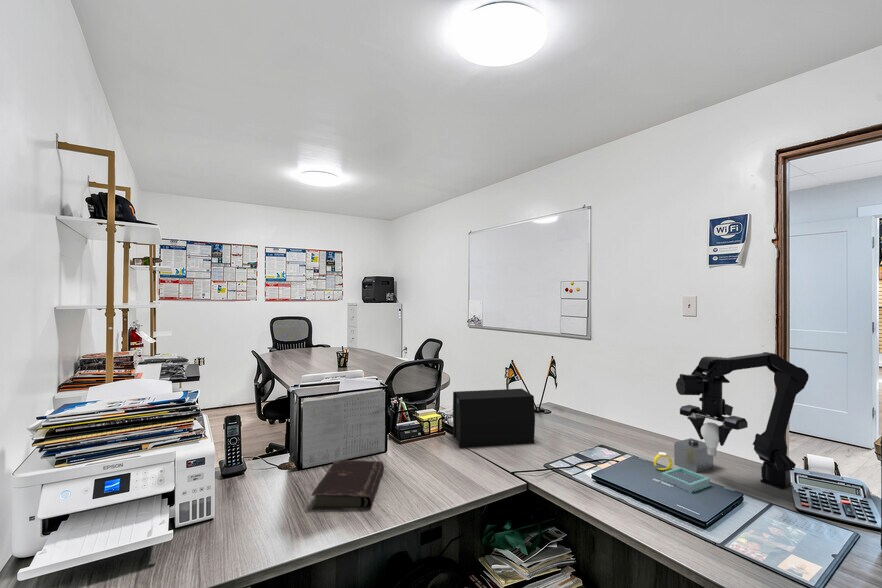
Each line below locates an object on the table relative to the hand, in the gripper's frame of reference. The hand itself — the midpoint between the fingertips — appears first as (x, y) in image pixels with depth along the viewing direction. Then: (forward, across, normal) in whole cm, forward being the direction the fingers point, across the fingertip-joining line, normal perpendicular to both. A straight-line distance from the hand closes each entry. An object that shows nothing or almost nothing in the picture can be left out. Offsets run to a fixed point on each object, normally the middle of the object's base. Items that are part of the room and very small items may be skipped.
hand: (711, 442), depth 135 cm
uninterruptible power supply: (+14, +67, +41) cm, 80 cm away
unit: (+13, +11, -8) cm, 19 cm away
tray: (+13, +4, +8) cm, 16 cm away
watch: (+14, +14, +5) cm, 20 cm away
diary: (+15, +51, +108) cm, 121 cm away
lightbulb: (+5, 0, 0) cm, 5 cm away
